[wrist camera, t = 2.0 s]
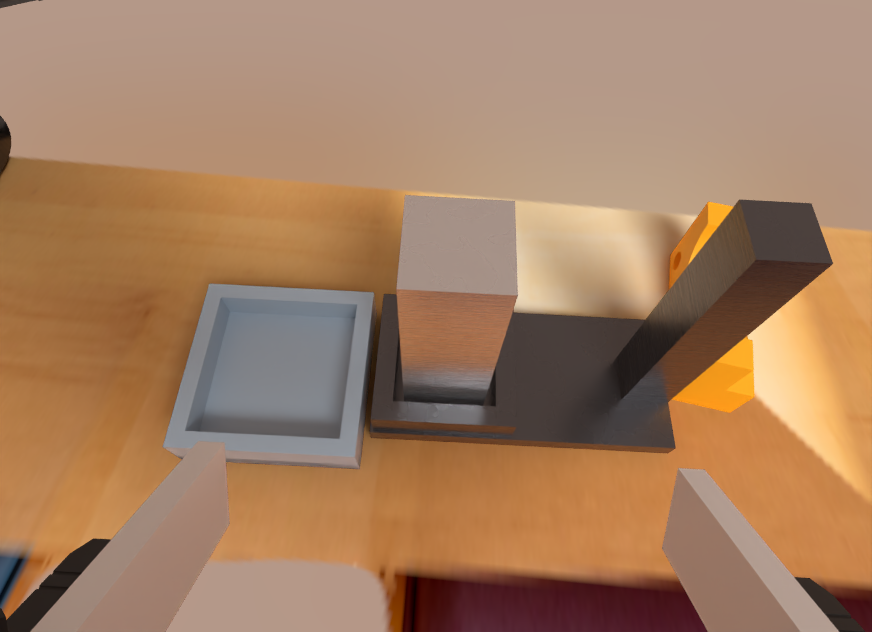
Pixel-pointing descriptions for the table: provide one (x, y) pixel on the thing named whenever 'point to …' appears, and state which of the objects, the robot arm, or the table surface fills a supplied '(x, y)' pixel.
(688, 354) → the dark grey post stand
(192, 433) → the parts tray
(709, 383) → the pipe clamp
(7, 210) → the table surface
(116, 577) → the robot arm
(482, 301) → the light grey tall block
